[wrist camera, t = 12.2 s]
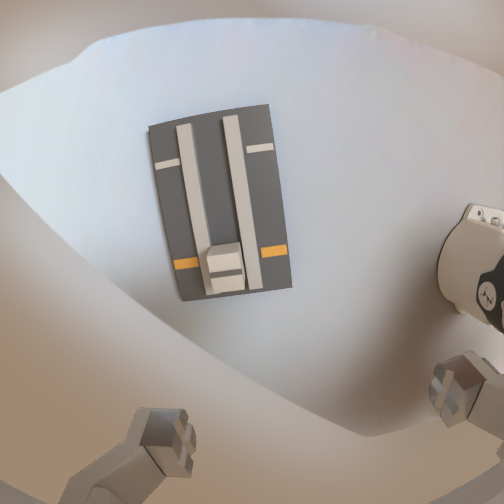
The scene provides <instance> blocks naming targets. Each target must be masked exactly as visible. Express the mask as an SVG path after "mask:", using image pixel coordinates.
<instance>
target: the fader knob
mask: <svg viewBox="0 0 504 504" xmlns="http://www.w3.org/2000/svg"><path fill="white" fill-rule="evenodd" d="M207 262H208V267H209V272H210V273H209V275H210V279H211V282H212V286H213V291H214V293H221V292H229V291H237V290H244V289H245V272H244V265H243V259H242V253H241V247H240V242H236V243H229V244H222V245H215V246H211V248H210V250H209V252H208V255H207Z"/></svg>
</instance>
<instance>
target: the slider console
mask: <svg viewBox="0 0 504 504" xmlns="http://www.w3.org/2000/svg"><path fill="white" fill-rule="evenodd" d="M148 127H149V134H150V142H151V149H152V156H153V162H154V168H155V175H156V181H157V186H158V192H159V198H160V203H161V208H162V214H163V219H164V224H165V229H166V234H167V238H168V243H169V248H170V252H171V257H172V261H173V266H174V270H175V274H176V278H177V282H178V286H179V290H180V294H181V298H182V301H191V300H200V299H209V298H217V297H225V296H233V295H241V294H249V293H256V292H263V291H271V290H278V289H285V288H291V287H292V279H291V269H290V260H289V251H288V242H287V234H286V225H285V217H284V209H283V201H282V193H281V186H280V178H279V171H278V164H277V157H276V150H275V143H274V136H273V130H272V123H271V117H270V111H269V104H266V105H257V106H249V107H242V108H235V109H229V110H223V111H217V112H211V113H206V114H201V115H196V116H191V117H186V118H181V119H177V120H172V121H168V122H164V123H160V124H156V125H152V126H148ZM236 242H240V247H241V253H242V259H243V265H244V272H245V289H244V290H237V291H229V292H221V293H214V291H213V286H212V282H211V279H210V275H209V273H210V272H209V267H208V262H207V255H208V252H209V250H210V248H211V246H215V245H222V244H229V243H236Z"/></svg>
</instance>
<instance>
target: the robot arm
mask: <svg viewBox="0 0 504 504" xmlns="http://www.w3.org/2000/svg"><path fill="white" fill-rule="evenodd" d="M438 283H439V287H440V290H441V292H442V294H443V296H444V297H445V298H446V299H447V300H449V301H451V302H452V303H454V304H455V307H456V309H457V311H458V312H459V313H460V314H462V315H465V314H467V313H468V314H470V315H471V316H473V317H474V318H476V319H478V320H479V321H481V322H482V323H484V324H486V325H490V324H491V325H493V326H494V328H495V329H496V330H498V331H499V332H502V333H503V334H504V211H503V210H499V209H495V208H491V207H487V206H482V205H478V204H470V205H469V206H468V208H467V209H466V212H465V214H464V216H463V219H462V220H461V222H460V223H459V224H458V225H457V226H456V228H455V229H454V230H453V231H452V232H451V234H450V235H449V237H448V238H447V240H446V242H445V244H444V246H443V249H442V252H441V255H440V259H439V264H438ZM434 375H435V376H436V377H435V378H434V379H433V380H432V382H431V383H430V387H429V397H430V400H431V403H432V404H433V406H434V407H435V408H438V409H440V410H441V411H440V417H441V418H442V420H443V421H444V423H445V424H446V426H447V427H448V428H449V427H452V426H454V425H456V424H458V423H461V422H463V421H465V420H467V421H469V422H470V423H472V424H474V425H476V426H477V427H479V428H481V429H483V430H485V431H487V432H488V433H490V434H492V435H494V436H496V437H498V438H500V439H502V440H504V374H501V373H500V374H498V375H497V374H496V373H495V372H494V371H493V370H492V369H491V368H490V367H489V366H488V365H487V364H486V363H485V362H484V361H483V360H482V359H481V358H480V357H479V356H478V355H477V354H476V353H475V352H474V351H468V352H466V353H463V354H461V355H459V356H456V357H454V358H451V359H449V360H446V361H443V362H441V363H438V364H437V365H436V367H435V369H434ZM187 421H188V415H187V413H186V410H184V409H161V408H139V409H138V410H137V411H136V413H135V415H134V418H133V421H132V423H131V426H130V428H129V430H128V433H127V435H126V439H125V441H124V443H123V444H122V443H119V444H118V445H116V446H115V447H113V448H112V449H111V450H109V451H108V452H107V453H105V454H104V455H102V456H101V457H99V458H98V459H97V460H95V461H94V462H92V463H91V464H89V465H88V466H87V467H85V468H84V469H82V470H81V471H79V472H78V473H76V474H75V475H73V476H72V477H70V478H69V481H68V483H67V485H66V487H65V489H64V492H63V494H62V496H61V498H60V501H59V503H58V504H142V503H143V501H144V500H145V499H146V498H147V497H148V496H149V495H150V494H151V493H152V492H153V491H154V490H155V489H156V488H157V487H158V486H159V485H160V484H161V483H162V482H163V480H164V479H165V478H166V477H184V478H191V473H192V467H193V460H192V458H191V454H193V453H194V452H195V448H196V435H195V431H194V428H193V426H192V425H191V424H190V423H188V422H187ZM496 454H497V455H498V457H499V458H500V460H501V462H500V463H498V464H497V465H495V466H494V467H492V468H491V469H489V470H487V471H486V472H484V473H483V474H481V475H479V476H478V477H476V478H474V479H473V480H471V481H469V482H468V483H466V484H464V485H462V486H460V487H458V488H457V489H455V490H453V491H451V492H449V493H447V494H445V495H443V496H441V497H439V498H436V499H434V500H432V501H430V502H428V503H425V504H504V441H503V443H502V444H501V445H500V447H499V448H498V450H497V453H496ZM0 504H47V503H45V502H43V501H41V500H39V499H37V498H35V497H33V496H30V495H28V494H27V493H25V492H23V491H21V490H19V489H17V488H15V487H13V486H12V485H10V484H8V483H6V482H5V481H3V480H1V479H0Z"/></svg>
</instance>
